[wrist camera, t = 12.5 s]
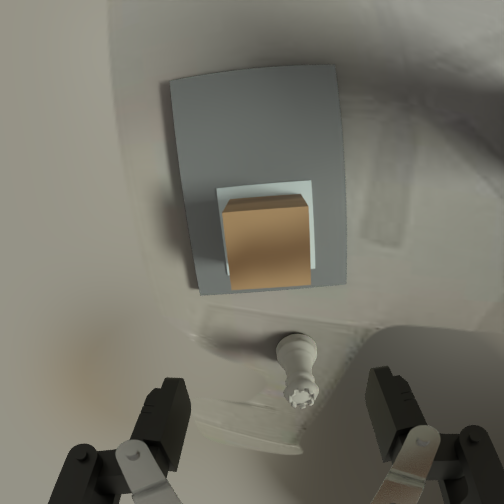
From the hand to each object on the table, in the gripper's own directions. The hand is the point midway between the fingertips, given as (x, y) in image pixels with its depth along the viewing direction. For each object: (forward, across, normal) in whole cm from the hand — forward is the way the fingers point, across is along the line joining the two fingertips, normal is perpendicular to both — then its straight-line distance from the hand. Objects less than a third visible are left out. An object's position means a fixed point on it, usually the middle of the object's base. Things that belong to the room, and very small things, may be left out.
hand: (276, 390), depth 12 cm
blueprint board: (+18, 0, -6) cm, 19 cm away
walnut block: (+17, 0, -2) cm, 17 cm away
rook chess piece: (+18, -2, +12) cm, 22 cm away
